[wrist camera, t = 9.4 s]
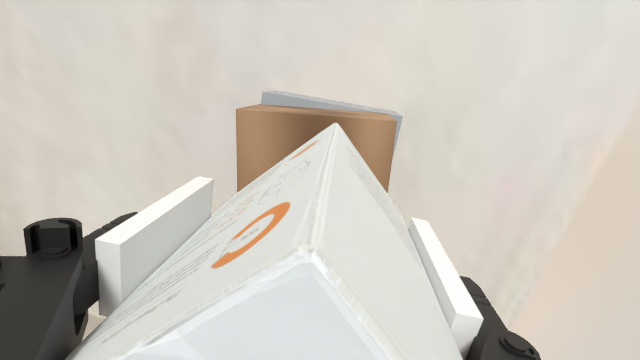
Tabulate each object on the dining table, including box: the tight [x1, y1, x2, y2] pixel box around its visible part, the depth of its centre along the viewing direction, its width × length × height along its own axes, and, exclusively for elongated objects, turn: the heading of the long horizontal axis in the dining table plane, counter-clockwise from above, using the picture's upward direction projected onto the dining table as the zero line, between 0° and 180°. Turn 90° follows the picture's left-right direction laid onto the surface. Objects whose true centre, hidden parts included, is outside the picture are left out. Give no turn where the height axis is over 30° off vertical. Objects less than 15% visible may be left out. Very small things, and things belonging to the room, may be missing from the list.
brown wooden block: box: [236, 104, 397, 193], centre depth 21 cm, size 9×9×5 cm
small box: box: [65, 123, 463, 360], centre depth 11 cm, size 8×6×13 cm
